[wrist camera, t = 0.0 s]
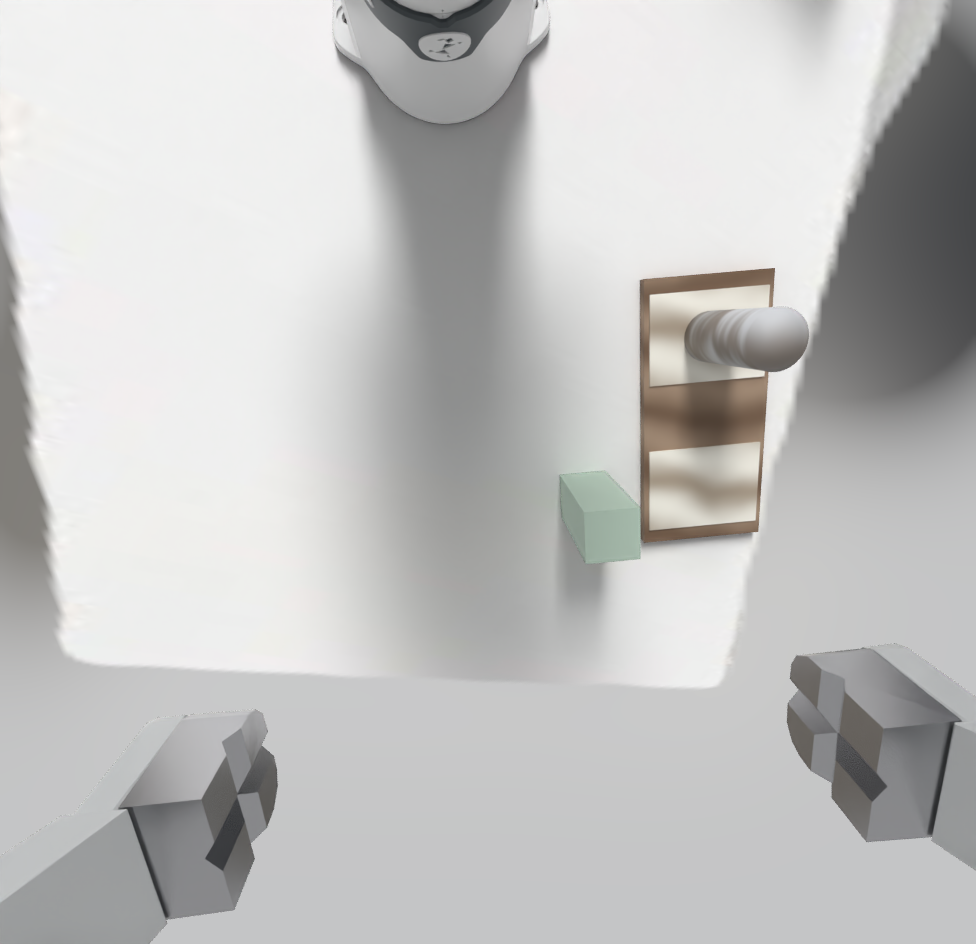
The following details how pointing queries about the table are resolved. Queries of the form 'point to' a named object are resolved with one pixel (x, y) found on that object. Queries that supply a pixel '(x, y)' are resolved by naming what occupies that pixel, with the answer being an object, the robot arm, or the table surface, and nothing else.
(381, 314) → the table surface
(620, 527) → the sage green tall pillar
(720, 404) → the board
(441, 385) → the table surface
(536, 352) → the table surface
